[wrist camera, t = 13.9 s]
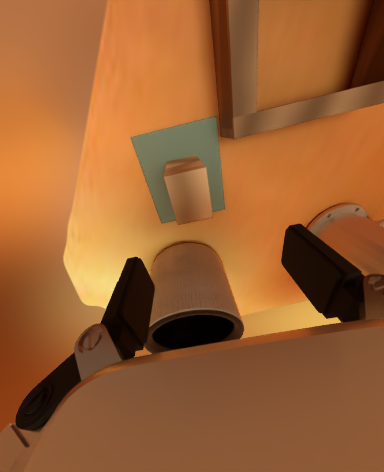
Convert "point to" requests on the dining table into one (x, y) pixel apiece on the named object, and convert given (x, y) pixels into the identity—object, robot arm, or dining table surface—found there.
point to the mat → (175, 147)
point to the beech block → (188, 189)
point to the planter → (191, 300)
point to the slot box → (245, 73)
